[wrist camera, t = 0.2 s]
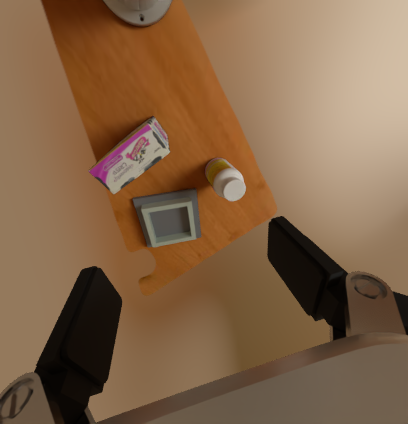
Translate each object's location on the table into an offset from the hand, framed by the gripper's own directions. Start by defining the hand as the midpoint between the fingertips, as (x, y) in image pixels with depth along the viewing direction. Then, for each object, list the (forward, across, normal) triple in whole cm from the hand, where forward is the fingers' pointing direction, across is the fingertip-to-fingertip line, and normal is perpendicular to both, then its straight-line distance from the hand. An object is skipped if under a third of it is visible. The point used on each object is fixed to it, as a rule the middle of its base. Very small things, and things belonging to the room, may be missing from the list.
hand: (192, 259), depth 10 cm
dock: (+36, +4, +20) cm, 42 cm away
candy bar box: (+36, +6, -2) cm, 37 cm away
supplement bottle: (+37, -10, +9) cm, 39 cm away
